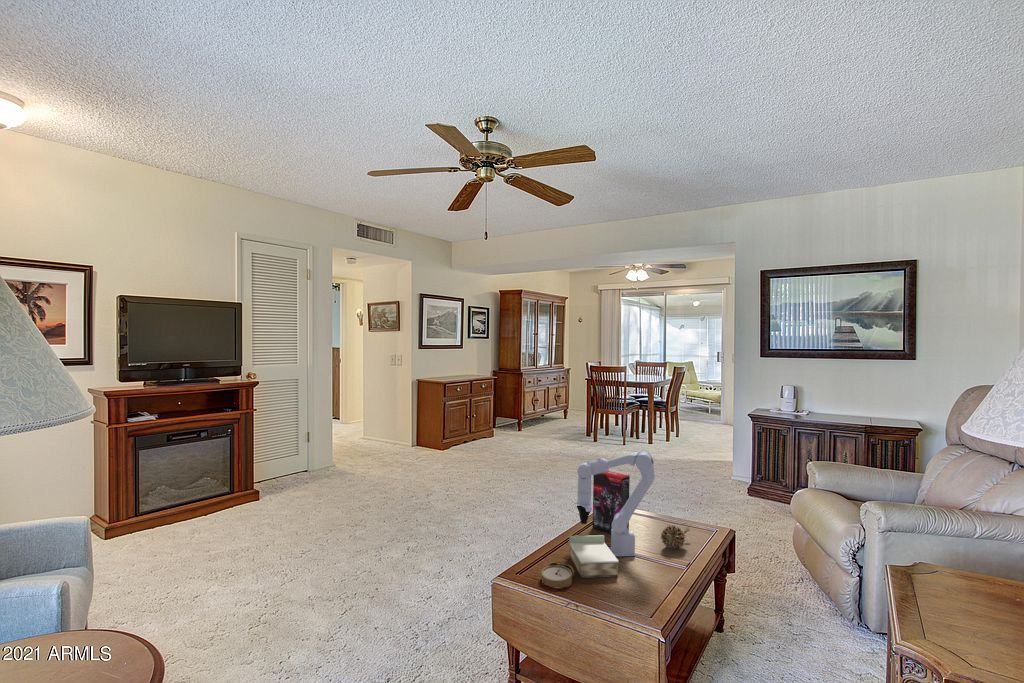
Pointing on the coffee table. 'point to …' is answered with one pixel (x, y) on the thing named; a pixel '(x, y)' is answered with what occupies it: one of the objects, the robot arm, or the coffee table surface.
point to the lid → (591, 549)
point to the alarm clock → (557, 575)
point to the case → (594, 568)
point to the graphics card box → (608, 498)
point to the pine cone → (673, 536)
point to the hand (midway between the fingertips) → (583, 523)
